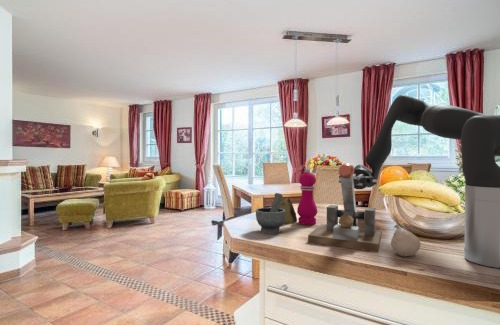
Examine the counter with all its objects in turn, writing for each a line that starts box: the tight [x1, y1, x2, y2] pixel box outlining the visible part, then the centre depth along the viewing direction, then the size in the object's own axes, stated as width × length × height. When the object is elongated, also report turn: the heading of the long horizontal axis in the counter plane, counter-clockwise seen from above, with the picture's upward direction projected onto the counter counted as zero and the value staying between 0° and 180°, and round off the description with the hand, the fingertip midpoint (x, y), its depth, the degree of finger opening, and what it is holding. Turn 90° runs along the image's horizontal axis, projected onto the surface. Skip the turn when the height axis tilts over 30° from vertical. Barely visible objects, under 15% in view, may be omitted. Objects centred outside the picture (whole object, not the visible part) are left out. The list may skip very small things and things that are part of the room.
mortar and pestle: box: [255, 192, 285, 235], centre depth 93 cm, size 11×9×12 cm
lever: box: [337, 163, 365, 227], centre depth 80 cm, size 8×8×22 cm
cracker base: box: [307, 204, 382, 252], centre depth 84 cm, size 18×16×9 cm
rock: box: [279, 197, 298, 224], centre depth 108 cm, size 10×8×10 cm
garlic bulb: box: [390, 223, 421, 257], centre depth 70 cm, size 7×6×8 cm
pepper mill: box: [296, 168, 318, 226], centre depth 105 cm, size 7×7×20 cm
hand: (354, 181), depth 92 cm, fingers closed
